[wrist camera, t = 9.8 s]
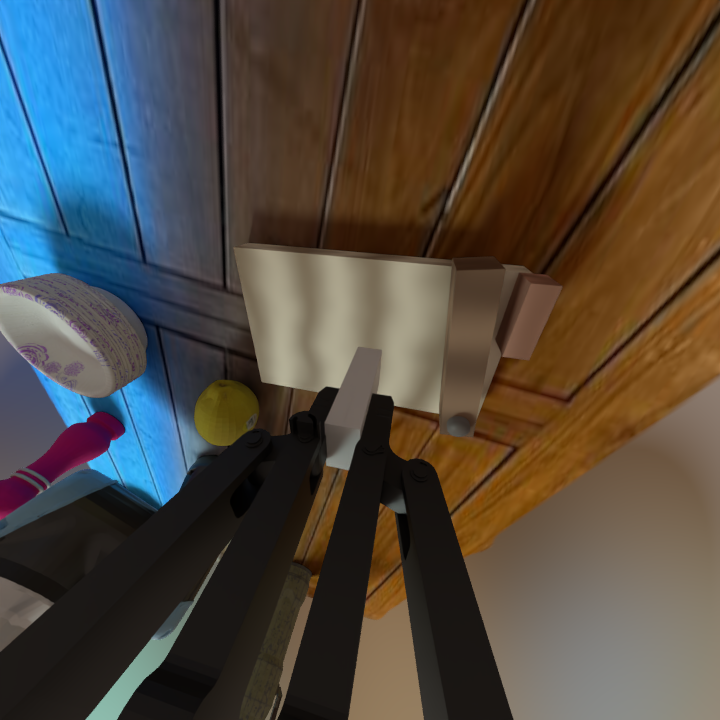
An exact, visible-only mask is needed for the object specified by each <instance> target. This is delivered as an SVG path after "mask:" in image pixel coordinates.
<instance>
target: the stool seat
mask: <svg viewBox="0 0 720 720" xmlns="http://www.w3.org/2000/svg"><path fill="white" fill-rule="evenodd" d="M233 248H234V253H235V258H236V262H237V267H238V272H239V277H240V281H241V286H242V291H243V296H244V300H245V305H246V310H247V315H248V319H249V324H250V329H251V334H252V338H253V343H254V348H255V353H256V357H257V362H258V367H259V372H260V376H261V381H262V382H264V383H270V384H276V385H281V386H287V387H293V388H298V389H304V390H309V391H315V392H319V391H321V390H322V389H323V388H325V387H326V386H328V387H334V388H340V387H341V384H342V382H343V380H344V378H345V375H346V373H347V371H348V368H349V366H350V364H351V362H352V359H353V357H354V355H355V352H356V350H357V348H358V347H365V348H372V349H379V350H382V358H381V368H380V378H379V387H378V391H377V394H381V395H387V396H391V397H392V399H393V401H394V406H399V407H405V408H411V409H416V410H422V411H428V412H433V413H439V400H440V389H441V379H442V368H443V357H444V346H445V335H446V324H447V313H448V302H449V292H450V281H451V270H452V260H447V259H435V258H423V257H411V256H399V255H387V254H375V253H364V252H352V251H340V250H328V249H316V248H304V247H292V246H280V245H269V244H257V243H246V244H242V245H239V246H236V247H233ZM502 265H503V267H504V268H505V269H506V271H505V276H504V281H503V287H502V292H501V297H500V302H499V307H498V312H497V317H496V322H495V327H494V332H493V338H492V343H491V348H490V353H489V358H488V363H487V368H486V373H485V378H484V384H483V389H482V394H481V399H480V404H479V409H478V414H479V412H480V409H481V407H482V404H483V401H484V399H485V396H486V394H487V391H488V389H489V386H490V383H491V381H492V378H493V376H494V373H495V370H496V368H497V365H498V363H499V360H500V357H501V355H502V357H509V358H516V359H523V360H529V359H530V357H531V355H532V353H533V350H534V348H535V346H536V344H537V342H538V339H539V337H540V335H541V333H542V331H543V329H544V326H545V324H546V322H547V320H548V318H549V315H550V313H551V311H552V309H553V307H554V305H555V302H556V300H557V298H558V296H559V294H560V291H561V289H562V287H563V286H562V285H560V284H559V283H557V282H556V281H555V280H553V279H552V278H551V277H549V276H548V275H544V274H533V273H532V272H530V271H529V270H528V269H527V268H525V267H524V266H518V265H506V264H502ZM478 414H477V417H478ZM476 420H477V419H476Z"/></svg>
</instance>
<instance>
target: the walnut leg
mask: <svg viewBox="0 0 720 720" xmlns="http://www.w3.org/2000/svg"><path fill="white" fill-rule="evenodd" d="M505 271H506V269H505V268H504V267H503V265H502V264H501V263H500V262H499V261H498V260H497V259H496V258H495V257H494V256H488V257H465V258H453V259H452V270H451V281H450V292H449V302H448V313H447V324H446V335H445V346H444V357H443V368H442V379H441V389H440V400H439V420H440V434H447V435H453V436H457V437H461V436H467V437H473V435H474V429H475V424H476V419H477V414H478V409H479V404H480V399H481V394H482V389H483V384H484V378H485V373H486V368H487V363H488V358H489V353H490V348H491V343H492V338H493V332H494V327H495V322H496V317H497V312H498V307H499V302H500V297H501V292H502V287H503V281H504V276H505Z"/></svg>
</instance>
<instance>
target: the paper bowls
mask: <svg viewBox="0 0 720 720" xmlns="http://www.w3.org/2000/svg"><path fill="white" fill-rule="evenodd" d="M0 331H1V332H2V334H3V335H4V336H5V338H6V339H7V340H8V342H9V343H10V344H11V345H12V346H13V347H14V348H15V349H16V350H17V351H18V352H19V353H20V354H21V355H22V356H23V357H24V358H25V359H26V360H27V361H28V362H29V363H30V364H32V365H33V366H34V367H35V368H36V369H38V370H39V371H40V372H42V373H43V374H44V375H46V376H47V377H48V378H50V379H51V380H53V381H54V382H56V383H57V384H59V385H61V386H63V387H65V388H66V389H69V390H71V391H73V392H75V393H78V394H81V395H84V396H87V397H92V398H102V397H107V396H110V395H111V394H113V393H114V392H115V391H117V390H119V389H121V388H122V387H124V386H126V385H127V384H128V383H130V382H132V381H133V380H135V379H136V378H138V377H139V376H141V375H142V374H143V373H144V372H145V369H146V364H147V360H146V349H147V342H148V341H147V335H146V331H145V329H144V326H143V324H142V323H141V321H140V319H139V318H138V316H137V315H136V314H135V313H134V311H133V310H132V309H131V308H130V307H129V306H128V305H127V304H126V303H125V302H123V301H122V300H121V299H119V298H118V297H117V296H115V295H113V294H112V293H110V292H108V291H106V290H103V289H101V288H97V287H93V286H89V285H88V284H86V283H84V282H83V281H81V280H78V279H76V278H73V277H71V276H68V275H65V274H60V273H50V274H45V275H41V276H36V277H32V278H26V279H22V280H18V281H13V282H8V283H3V284H0Z"/></svg>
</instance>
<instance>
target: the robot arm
mask: <svg viewBox="0 0 720 720" xmlns="http://www.w3.org/2000/svg"><path fill="white" fill-rule="evenodd" d="M381 358H382V350H379V349H372V348H365V347H358V348H357V350H356V352H355V355H354V357H353V359H352V362H351V364H350V366H349V368H348V371H347V373H346V375H345V378H344V380H343V382H342V384H341V387H340V388H334V387H328V386H326V387H325V388H323V389H322V390H321V391H319V393H318V395H317V397H316V399H315V401H314V402H313V405H312V406H311V408H310V410H309V411H302V412H298V413H296V414H294V415H292V417H291V418H290V419H289V423H290V430H291V433H290V434H288V435H282V436H270V434H269V432H267V431H266V430H263V429H253V430H250V431H248V432H246V433H245V434H243V435H242V436H241V437H240V438H238V439H237V440H236V441H235V442H234V443H233V444H232V445H231V446H230V447H228V448H227V449H226V450H225V451H224V452H223V453H222V454H221V455H219V456H211V455H209V456H202V457H200V458H199V459H197V461H196V462H195V463H194V464H193V465H192V466H191V468H190V469H189V471H188V473H187V475H186V477H185V479H184V482H183V484H182V486H181V488H180V491H179V492H178V493H177V494H176V495H175V496H174V497H173V498H171V499H170V500H169V501H168V502H167V503H166V504H165V505H164V506H163V507H161V508H160V509H159V510H157V509H156V508H154V507H153V506H151V505H150V504H148V503H147V502H145V501H144V500H142V499H141V498H139V497H138V496H136V495H135V494H133V493H132V492H130V491H129V490H127V489H126V488H124V487H123V486H122V485H120V484H119V483H118V481H117V480H112V479H110V478H109V477H107V476H105V475H103V474H102V473H100V472H98V471H96V470H93V469H85V470H80V471H78V472H75V473H73V474H71V475H70V476H68V477H66V478H65V479H63V480H61V481H60V482H58V483H56V484H55V485H53V486H51V487H50V488H48V489H47V490H45V491H44V492H42V493H40V494H39V495H37V496H36V497H34V498H33V499H31V500H30V501H28V502H27V503H25V504H23V505H22V506H20V507H19V508H17V509H16V510H14V511H13V512H12V513H10V514H9V515H7V516H6V517H5V518H3V519H1V520H0V720H85V719H86V718H87V717H88V716H89V714H91V712H92V711H93V710H94V709H95V707H96V706H97V705H98V704H99V702H100V701H101V700H102V699H103V697H104V696H105V695H106V694H107V693H108V691H109V690H110V689H111V688H112V686H113V685H114V684H115V683H116V681H117V680H118V679H119V678H120V676H121V675H122V674H123V673H124V672H125V670H126V669H127V668H128V667H129V665H130V664H131V663H132V662H133V660H134V659H135V658H136V657H137V655H138V654H139V653H140V652H141V650H142V649H143V648H144V647H145V646H146V644H147V643H148V642H149V640H150V639H153V640H160V639H163V638H165V637H167V636H168V635H169V634H171V633H172V632H173V631H174V630H175V628H176V627H177V625H178V623H179V622H180V621H181V619H182V617H183V616H184V614H185V613H186V611H187V610H188V608H189V606H190V605H192V603H193V602H194V598H195V596H196V594H197V593H198V591H199V589H200V587H201V586H202V584H203V582H204V581H205V579H206V577H207V575H208V574H209V572H210V570H211V568H212V567H213V565H214V563H215V561H216V560H217V558H218V556H219V554H220V553H221V551H222V550H223V549H224V548H225V546H226V545H227V544H228V543H229V541H230V540H231V539H232V540H231V542H230V544H229V546H228V547H227V549H226V551H225V553H224V555H223V556H222V558H221V560H220V562H219V564H218V565H217V567H216V569H215V571H214V573H213V574H212V576H211V578H210V580H209V582H208V584H207V585H206V587H205V589H204V591H203V592H202V594H201V596H200V598H199V600H198V601H197V603H196V605H195V607H194V608H193V610H192V612H191V614H190V616H189V618H188V619H187V621H186V623H185V625H184V626H183V628H182V630H181V632H180V634H179V636H178V637H177V639H176V641H175V643H174V644H173V646H172V648H171V650H170V652H169V653H168V655H167V657H166V658H165V660H164V661H163V662H162V664H161V665H160V666H159V667H158V668H157V669H156V670H155V671H154V672H152V673H151V674H150V675H149V676H148V677H146V678H145V679H144V681H143V682H142V683H141V684H140V685H139V687H138V688H137V689H136V690H135V692H134V693H133V695H132V696H131V698H130V699H129V701H128V703H127V704H126V706H125V707H124V709H123V710H122V712H121V714H120V715H119V717H118V719H117V720H239V717H240V711H241V705H242V702H243V698H244V695H245V692H246V689H247V686H248V684H249V681H250V678H251V675H252V672H253V670H254V667H255V664H256V661H257V658H258V656H259V653H260V650H261V647H262V644H263V642H264V639H265V636H266V633H267V630H268V628H269V625H270V622H271V619H272V617H273V614H274V611H275V608H276V605H277V603H278V600H279V597H280V594H281V591H282V589H283V586H284V583H285V580H286V577H287V575H288V572H289V569H290V566H291V563H292V561H293V558H294V555H295V552H296V550H297V547H298V544H299V541H300V538H301V536H302V533H303V530H304V527H305V524H306V522H307V519H308V516H309V513H310V510H311V508H312V505H313V502H314V499H315V496H316V494H317V491H318V488H319V485H320V483H321V480H322V477H323V466H324V463H325V461H326V466H331V467H336V468H341V469H346V470H349V471H348V475H347V478H346V482H345V486H344V489H343V493H342V496H341V500H340V504H339V507H338V511H337V514H336V518H335V522H334V525H333V529H332V532H331V536H330V540H329V543H328V547H327V550H326V554H325V558H324V561H323V565H322V568H321V572H320V576H319V579H318V583H317V586H316V590H315V594H314V597H313V601H312V605H311V608H310V612H309V615H308V619H307V623H306V626H305V630H304V633H303V637H302V640H301V644H300V647H299V651H298V655H297V658H296V662H295V666H294V669H293V673H292V677H291V680H290V683H289V687H288V691H287V694H286V698H285V701H284V704H283V707H282V710H281V712H280V715H279V717H278V719H277V720H348V716H349V709H350V703H351V696H352V688H353V682H354V675H355V669H356V661H357V654H358V648H359V642H360V635H361V628H362V621H363V614H364V608H365V601H366V594H367V587H368V581H369V574H370V567H371V560H372V553H373V547H374V540H375V533H376V526H377V519H378V513H379V506H380V503H382V504H384V505H385V506H387V507H389V508H390V509H392V510H393V511H395V517H396V524H397V531H398V538H399V546H400V553H401V560H402V567H403V574H404V581H405V588H406V595H407V602H408V609H409V616H410V623H411V630H412V637H413V644H414V651H415V659H416V666H417V672H418V680H419V687H420V694H421V701H422V708H423V715H424V720H513V717H512V714H511V710H510V707H509V704H508V701H507V698H506V694H505V691H504V688H503V685H502V681H501V678H500V675H499V672H498V669H497V666H496V662H495V659H494V656H493V653H492V650H491V646H490V643H489V640H488V636H487V633H486V630H485V627H484V623H483V620H482V617H481V614H480V611H479V607H478V604H477V601H476V598H475V594H474V591H473V588H472V585H471V582H470V578H469V575H468V572H467V569H466V565H465V562H464V559H463V556H462V553H461V549H460V546H459V543H458V540H457V536H456V533H455V530H454V527H453V524H452V520H451V517H450V514H449V511H448V507H447V504H446V501H445V498H444V495H443V491H442V488H441V485H440V482H439V478H438V475H437V473H436V471H435V469H434V467H433V466H432V465H431V464H430V463H428V462H426V461H424V460H422V459H410V460H409V461H406V460H404V459H402V458H400V457H398V456H397V455H396V454H395V453H393V451H392V450H391V448H390V446H389V437H390V430H391V423H392V416H393V409H394V401H393V399H392V397H391V396H387V395H381V394H377V391H378V387H379V378H380V368H381Z"/></svg>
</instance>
